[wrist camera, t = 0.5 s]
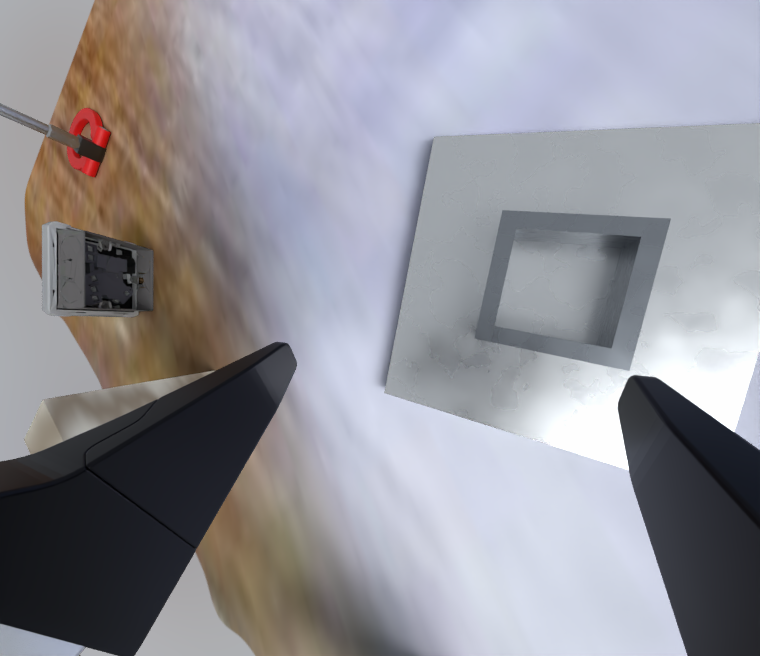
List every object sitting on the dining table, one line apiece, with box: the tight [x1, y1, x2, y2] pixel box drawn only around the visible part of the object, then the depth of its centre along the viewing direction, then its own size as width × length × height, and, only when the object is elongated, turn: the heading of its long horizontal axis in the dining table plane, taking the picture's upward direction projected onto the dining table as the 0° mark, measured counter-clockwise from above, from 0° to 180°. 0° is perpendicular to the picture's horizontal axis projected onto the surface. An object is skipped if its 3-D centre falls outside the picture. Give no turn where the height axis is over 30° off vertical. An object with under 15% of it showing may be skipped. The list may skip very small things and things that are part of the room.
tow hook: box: [0, 103, 111, 177], centre depth 35 cm, size 8×13×9 cm
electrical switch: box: [42, 221, 153, 317], centre depth 32 cm, size 9×5×9 cm, turn 179°
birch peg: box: [24, 371, 214, 454], centre depth 26 cm, size 4×4×13 cm
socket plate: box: [384, 123, 760, 470], centre depth 18 cm, size 20×20×4 cm
